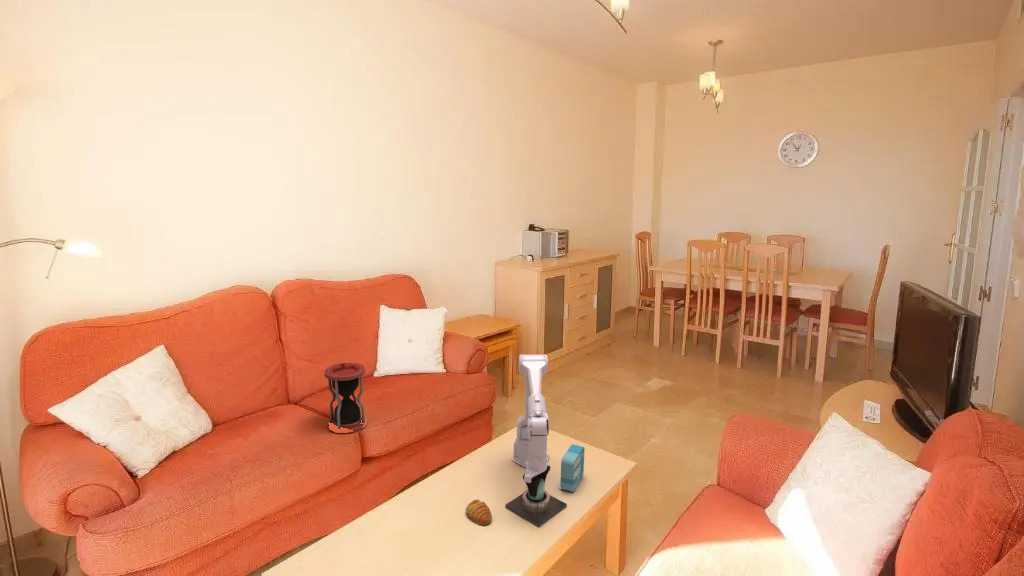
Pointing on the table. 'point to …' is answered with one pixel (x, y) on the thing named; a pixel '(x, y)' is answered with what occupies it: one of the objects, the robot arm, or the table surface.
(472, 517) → the pastry
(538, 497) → the teal rounded cylinder
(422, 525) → the table surface
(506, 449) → the table surface
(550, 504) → the square base ring holder
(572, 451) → the data package
